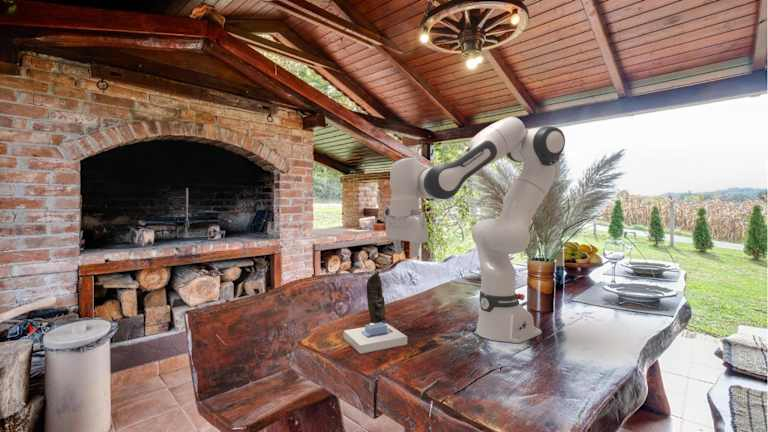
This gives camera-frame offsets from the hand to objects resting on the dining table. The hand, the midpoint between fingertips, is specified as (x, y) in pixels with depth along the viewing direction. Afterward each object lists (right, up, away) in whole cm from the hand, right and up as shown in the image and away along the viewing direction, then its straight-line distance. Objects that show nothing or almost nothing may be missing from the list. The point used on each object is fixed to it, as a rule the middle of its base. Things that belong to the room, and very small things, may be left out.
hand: (406, 255), depth 110 cm
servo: (-10, -28, +5) cm, 30 cm away
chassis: (-10, -28, +4) cm, 30 cm away
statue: (-9, -28, +20) cm, 36 cm away
